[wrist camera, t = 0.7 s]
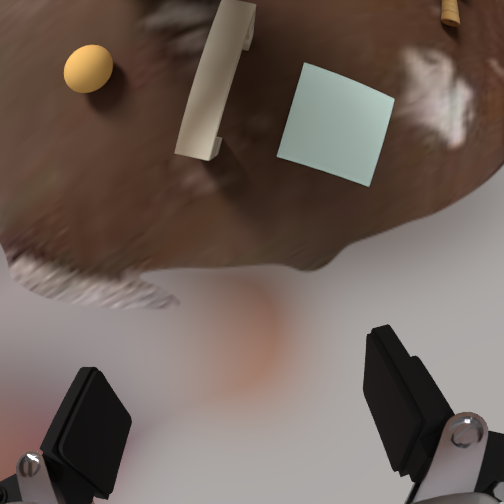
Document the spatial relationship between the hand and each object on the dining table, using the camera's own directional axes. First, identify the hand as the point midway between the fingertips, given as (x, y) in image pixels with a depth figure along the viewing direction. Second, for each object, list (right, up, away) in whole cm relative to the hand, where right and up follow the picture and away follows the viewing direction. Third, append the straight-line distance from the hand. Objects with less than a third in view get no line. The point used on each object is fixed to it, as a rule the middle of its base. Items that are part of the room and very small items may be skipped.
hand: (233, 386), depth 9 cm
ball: (-18, +25, +17) cm, 35 cm away
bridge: (-3, +23, +21) cm, 31 cm away
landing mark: (+11, +19, +23) cm, 32 cm away
